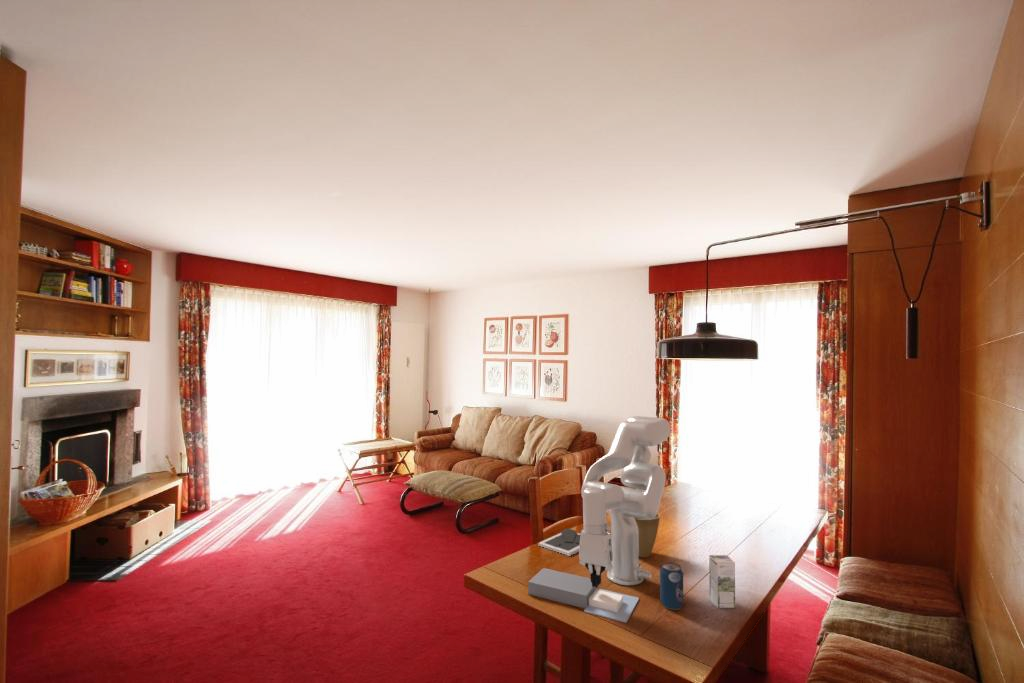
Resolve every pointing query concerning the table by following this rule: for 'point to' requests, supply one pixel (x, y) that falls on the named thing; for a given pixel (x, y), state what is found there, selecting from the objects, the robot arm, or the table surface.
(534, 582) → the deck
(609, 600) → the white flat block
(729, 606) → the syrup box
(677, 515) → the table surface
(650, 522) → the plant pot
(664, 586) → the soda can
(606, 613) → the mat
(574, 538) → the picture frame
